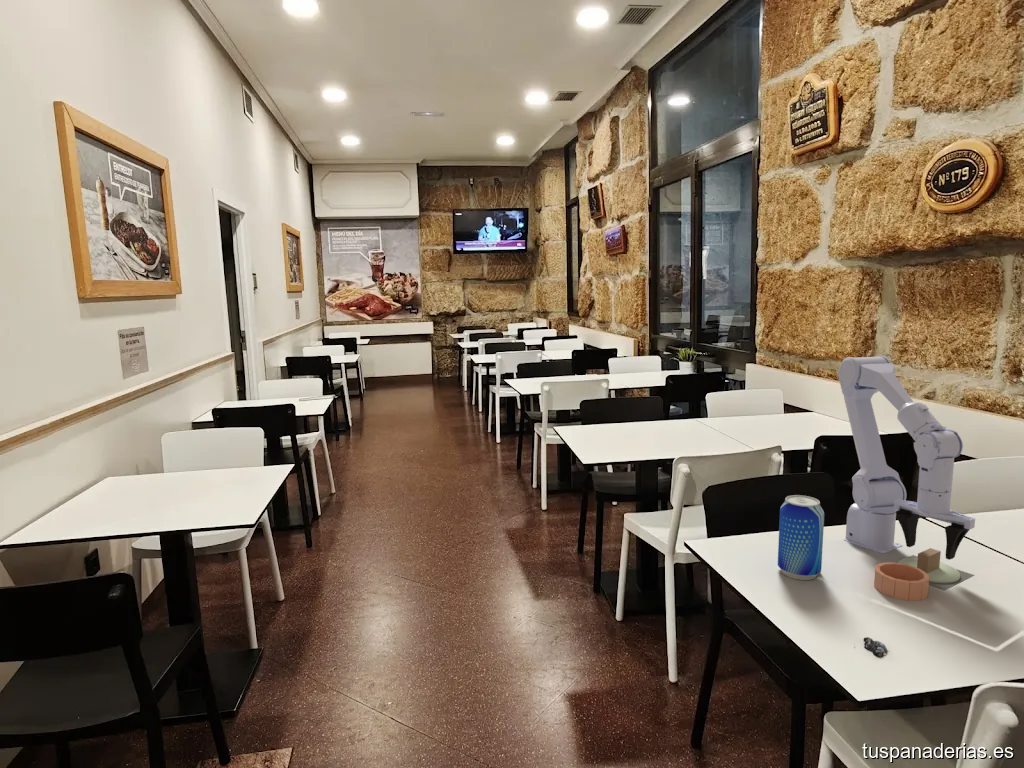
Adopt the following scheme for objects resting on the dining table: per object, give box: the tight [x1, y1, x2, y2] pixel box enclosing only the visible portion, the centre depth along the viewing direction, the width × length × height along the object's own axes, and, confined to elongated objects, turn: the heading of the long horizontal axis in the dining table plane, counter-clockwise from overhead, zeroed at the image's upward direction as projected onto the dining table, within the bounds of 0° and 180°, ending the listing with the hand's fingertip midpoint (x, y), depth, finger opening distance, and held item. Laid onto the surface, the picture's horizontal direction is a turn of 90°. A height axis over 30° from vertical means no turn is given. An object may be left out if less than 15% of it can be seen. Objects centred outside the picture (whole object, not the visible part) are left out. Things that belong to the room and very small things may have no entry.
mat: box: [895, 554, 975, 591], centre depth 134 cm, size 12×12×1 cm
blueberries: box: [853, 636, 890, 658], centre depth 108 cm, size 7×8×2 cm
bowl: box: [873, 561, 930, 601], centre depth 127 cm, size 9×9×4 cm
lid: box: [897, 547, 960, 584], centre depth 134 cm, size 11×11×4 cm
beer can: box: [777, 494, 825, 581], centre depth 135 cm, size 8×8×16 cm
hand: (929, 551), depth 133 cm, fingers open, 7 cm apart
